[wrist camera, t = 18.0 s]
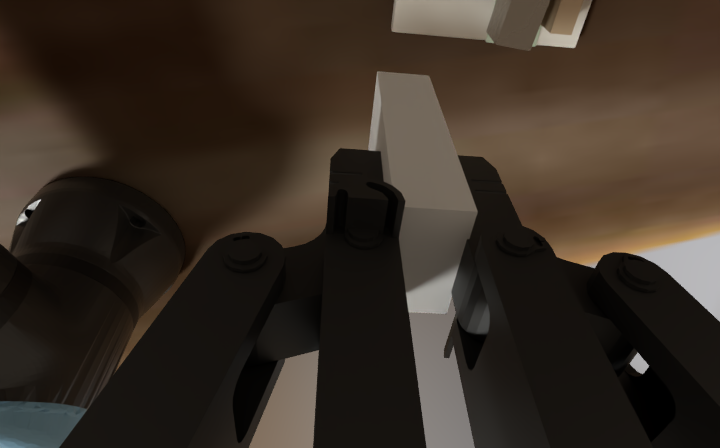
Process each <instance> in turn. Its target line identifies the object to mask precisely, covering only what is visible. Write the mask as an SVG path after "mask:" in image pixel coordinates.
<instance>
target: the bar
mask: <svg viewBox="0 0 720 448" xmlns="http://www.w3.org/2000/svg"><path fill="white" fill-rule="evenodd" d="M549 2H550V0H497V1H496V4H495V7H494V10H493V13H492V16H491V19H490V22H489V25H488V28H487V31H486V32H487V34H488V35H489V36H490V38H491V39H492V40H493V41H494V43H495V44H496V45H500V46H506V47H511V48H516V49H522V50H527V51H530V50H531V48H532V45H533V43H534V40H535V38H536V35H537V33H538V30H539V28H540V25H541V22H542V20H543V17H544V15H545V12H546V10H547V7H548V5H549Z"/></svg>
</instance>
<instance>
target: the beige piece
mask: <svg viewBox="0 0 720 448" xmlns="http://www.w3.org/2000/svg"><path fill="white" fill-rule="evenodd" d="M496 1H497V0H394V7H393V15H392V23H391V30H392V32H400V33H411V34H423V35H434V36H445V37H456V38H467V39H479V40H486V42H490V43H494V41H493V40H492V39H491V38H490V36H489V35H488V34H487V32H486V31H487V28H488V25H489V22H490V19H491V16H492V13H493V10H494V7H495V4H496ZM591 2H592V0H550V2H549V5H548V7H547V10H546V12H545V15H544V17H543V20H542V22H541V25H540V28H539V30H538V33H537V35H536V38H535V40H534V43H533V45H532V46H534V47H535V46H536V45H546V46H557V47H568V48H575V46H576V43H577V41H578V38H579V35H580V32H581V30H582V27H583V24H584V21H585V19H586V16H587V13H588V11H589V8H590V5H591Z"/></svg>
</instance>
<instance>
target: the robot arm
mask: <svg viewBox="0 0 720 448" xmlns="http://www.w3.org/2000/svg"><path fill="white" fill-rule="evenodd" d="M501 182H502V181H501V179H500V177H499V174H498V172H497V170H496V168H494V167H493V166H492V165H491V164H490V163H489V162H487V161H486V160H485V159H484V158H483V157H473V156H459V155H457V153H456V150H455V147H454V144H453V141H452V139H451V136H450V133H449V130H448V127H447V125H446V122H445V119H444V116H443V113H442V111H441V108H440V105H439V102H438V99H437V97H436V94H435V91H434V88H433V85H432V83H431V80H430V77H429V76H427V75H415V74H403V73H391V72H379V71H377V79H376V87H375V96H374V105H373V113H372V122H371V130H370V139H369V148H368V150H356V149H342V148H340V149H339V150H338V151H337V152H336V153H335V154H334V156H333V157H332V158H331V163H330V179H329V195H328V209H327V223H326V227H325V229H324V230H323V232H322V233H321V234H320V235H319V236H318V237H317V238H315V239H314V240H312V241H310V242H308V243H306V244H302V245H299V246H295V247H289V248H283V247H282V245H281V244H279V243H278V242H277V241H276V240H275V239H274V238H272V237H269V236H267V235H264V234H261V233H252V232H242V233H236V234H231V235H228V236H226V237H224V238H221V239H219V240H217V241H216V242H215V243H214V244H213V245H212V246H211V247H209V248H208V250H207V251H206V252H205V254H204V255H203V256H202V258H201V259H200V260H199V262H198V263H197V264H196V266H195V267H194V268H193V270H192V271H191V272H190V274H189V275H188V276H187V278H186V279H185V280H184V282H183V283H182V284H181V286H180V287H179V288H178V290H177V291H176V292H175V294H174V295H173V296H172V298H171V299H170V300H169V302H168V303H167V304H166V306H165V307H164V308H163V310H162V311H161V312H160V314H159V315H158V316H157V318H156V319H155V320H154V322H153V323H152V324H151V326H150V327H149V328H148V330H147V331H146V332H145V334H144V335H143V336H142V338H141V339H140V340H139V342H138V343H137V344H136V346H135V347H134V348H133V350H132V351H131V352H130V354H129V355H128V356H127V358H126V359H125V360H124V362H123V363H122V364H121V366H120V367H119V368H118V370H117V371H116V369H117V367H118V364H119V362H120V360H121V357H122V355H123V353H124V351H125V348H126V346H127V344H128V342H129V339H130V337H131V335H132V332H133V330H134V328H135V326H136V324H137V322H138V320H139V318H140V317H141V316H142V315H144V314H145V313H146V312H147V311H148V310H149V309H150V308H151V307H152V306H153V305H154V304H155V303H156V302H157V301H158V299H159V298H160V297H161V296H162V295H163V294H165V293H166V292H167V291H168V290H169V289H170V288H171V287H172V285H173V284H174V282H175V281H176V279H177V277H178V274H179V272H180V270H181V267H182V265H183V262H184V258H185V244H184V240H183V237H182V234H181V232H180V230H179V228H178V226H177V225H176V223H175V222H174V220H173V219H172V218H171V216H170V215H169V214H168V213H167V212H166V211H165V210H164V209H163V208H162V207H161V206H160V205H158V204H157V203H156V202H155V201H153V200H152V199H150V198H149V197H147V196H146V195H144V194H142V193H141V192H139V191H137V190H135V189H133V188H131V187H128V186H126V185H123V184H121V183H117V182H114V181H110V180H106V179H101V178H94V177H72V178H65V179H61V180H58V181H55V182H53V183H50V184H48V185H47V186H45V187H44V188H42V189H41V190H40V191H39V192H38V193H37V194H36V195H35V196H34V197H33V198H32V199H31V200H30V201H29V202H28V204H27V205H26V206H25V207H24V208H23V210H22V212H21V213H20V215H19V217H18V220H17V224H16V227H15V230H14V234H13V237H12V241H11V244H10V248H9V251H8V250H7V249H6V248H4V247H3V246H2V245H1V244H0V448H249V445H250V443H251V441H252V438H253V436H254V434H255V431H256V429H257V426H258V424H259V422H260V419H261V417H262V415H263V412H264V410H265V407H266V405H267V403H268V400H269V398H270V396H271V393H272V391H273V388H274V386H275V383H276V381H277V379H278V376H279V374H280V372H281V369H282V367H283V365H284V362H285V358H289V357H293V356H297V355H301V354H305V353H309V352H313V351H316V350H319V358H318V375H317V392H316V408H315V425H314V443H313V448H426V441H425V434H424V427H423V418H422V412H421V403H420V397H419V388H418V380H417V373H416V365H415V358H414V350H413V343H412V335H411V328H410V320H409V312H416V313H438V314H446V313H447V311H448V307H449V304H450V301H451V298H453V302H454V306H455V311H456V314H455V317H454V321H453V323H452V327H451V330H450V333H449V336H448V339H447V342H446V345H445V348H444V358H449V357H450V354H451V351H452V348H453V345H454V349H455V354H456V359H457V364H458V368H459V373H460V378H461V383H462V388H463V393H464V397H465V402H466V407H467V412H468V417H469V421H470V426H471V431H472V436H473V440H474V446H475V448H720V322H719V321H718V320H717V319H716V318H715V317H714V316H713V315H712V314H711V313H710V312H708V310H707V309H705V308H704V307H703V306H702V305H701V304H700V303H699V302H698V301H697V300H696V299H695V298H694V297H693V296H692V295H690V294H689V293H688V292H687V291H686V290H685V289H684V288H683V287H682V286H681V285H680V284H679V283H678V282H677V281H676V280H674V279H673V278H672V277H671V276H670V275H669V274H668V273H667V272H666V271H664V270H663V269H661V268H660V267H659V266H658V265H656V264H655V263H653V262H651V261H648V260H646V259H645V258H642V257H640V256H637V255H633V254H629V253H617V252H613V253H610V254H606V255H603V257H602V258H601V259H600V261H599V262H598V264H597V266H596V267H595V268H591V267H588V266H584V265H580V264H577V263H573V262H570V261H566V260H563V259H560V258H557V257H556V255H555V253H554V251H553V249H552V247H551V246H550V245H549V243H548V242H547V241H546V240H545V238H544V237H542V236H541V235H539V234H538V233H536V232H535V231H534V230H531V229H529V228H526V227H524V226H522V224H521V222H520V220H519V218H518V215H517V213H516V211H515V209H514V207H513V205H512V202H511V200H510V198H509V196H508V194H506V190H505V187H504V185H503V184H501ZM637 352H638V353H639V354H640V355H641V357H642V358H643V359H644V360H645V361H646V362H647V364H648V365H649V368H648V369H647V370H646V371H645V373H644V374H640V373H639V372H637V371H636V370H635V369H634V368H633V367H632V366H631V365H630V364H629V363H630V362H631V361H632V359H633V358H634V356H635V355H636V354H637ZM115 371H116V372H115ZM114 373H115V374H114Z"/></svg>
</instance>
